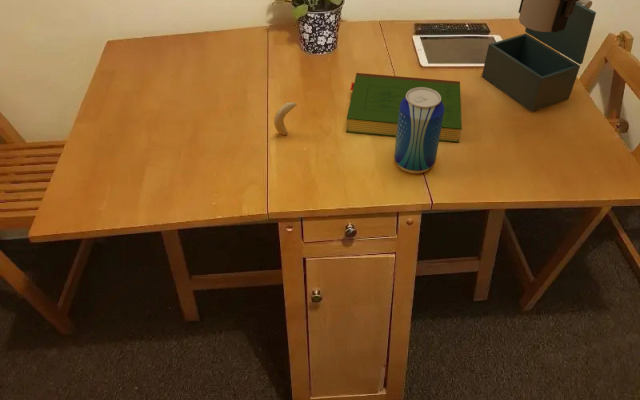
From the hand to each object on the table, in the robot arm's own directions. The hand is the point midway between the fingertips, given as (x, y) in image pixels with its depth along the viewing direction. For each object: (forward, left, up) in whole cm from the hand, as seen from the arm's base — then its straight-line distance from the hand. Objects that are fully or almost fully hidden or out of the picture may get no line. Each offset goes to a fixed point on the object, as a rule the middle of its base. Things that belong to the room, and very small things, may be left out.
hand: (540, 20), depth 115 cm
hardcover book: (+14, +21, -24) cm, 34 cm away
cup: (0, 0, 0) cm, 0 cm away
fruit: (+19, +48, -24) cm, 57 cm away
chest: (+9, -11, -24) cm, 27 cm away
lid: (+9, -16, -8) cm, 20 cm away
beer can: (-2, +29, -24) cm, 37 cm away
